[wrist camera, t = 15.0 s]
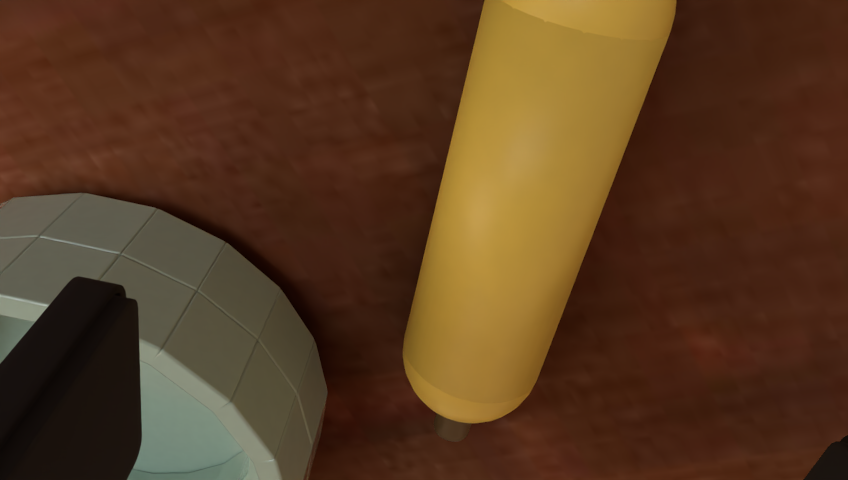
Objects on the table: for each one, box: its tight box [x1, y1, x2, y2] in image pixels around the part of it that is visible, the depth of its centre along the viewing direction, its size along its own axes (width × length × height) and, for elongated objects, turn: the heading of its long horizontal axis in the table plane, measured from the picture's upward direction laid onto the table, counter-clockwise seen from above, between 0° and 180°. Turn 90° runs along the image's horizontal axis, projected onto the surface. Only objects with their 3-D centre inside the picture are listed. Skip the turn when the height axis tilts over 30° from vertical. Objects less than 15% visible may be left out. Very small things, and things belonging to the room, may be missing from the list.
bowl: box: [0, 193, 328, 480], centre depth 20 cm, size 12×12×5 cm
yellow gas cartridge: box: [403, 0, 676, 442], centre depth 17 cm, size 14×4×4 cm
